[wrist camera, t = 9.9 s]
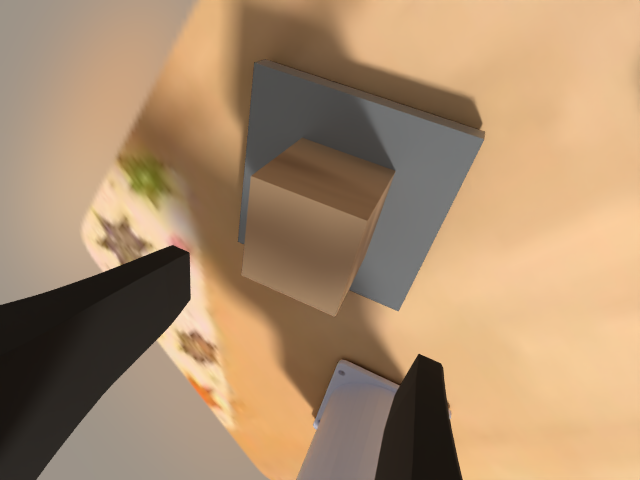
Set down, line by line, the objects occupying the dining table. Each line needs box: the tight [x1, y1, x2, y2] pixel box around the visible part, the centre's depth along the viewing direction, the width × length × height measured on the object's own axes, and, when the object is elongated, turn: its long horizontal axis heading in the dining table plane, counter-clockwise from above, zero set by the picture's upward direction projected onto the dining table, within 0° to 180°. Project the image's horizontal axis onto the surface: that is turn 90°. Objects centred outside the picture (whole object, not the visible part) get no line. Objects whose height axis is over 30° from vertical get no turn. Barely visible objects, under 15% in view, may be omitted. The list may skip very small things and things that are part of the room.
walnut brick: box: [241, 138, 396, 317], centre depth 16 cm, size 5×4×5 cm
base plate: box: [238, 59, 485, 311], centre depth 19 cm, size 10×10×1 cm
